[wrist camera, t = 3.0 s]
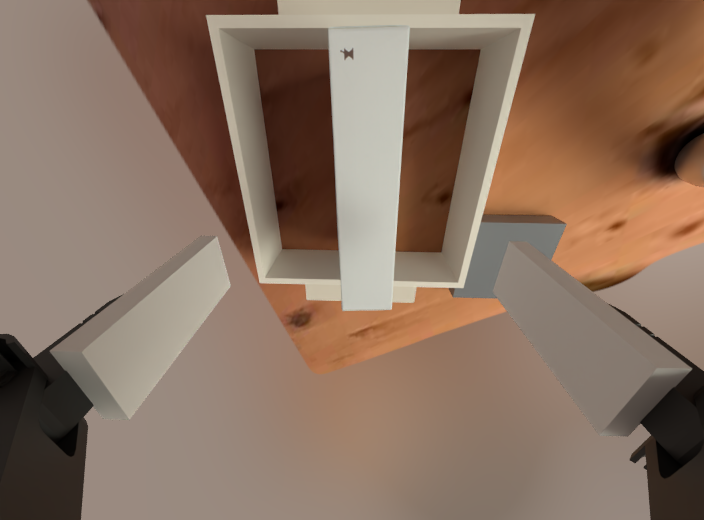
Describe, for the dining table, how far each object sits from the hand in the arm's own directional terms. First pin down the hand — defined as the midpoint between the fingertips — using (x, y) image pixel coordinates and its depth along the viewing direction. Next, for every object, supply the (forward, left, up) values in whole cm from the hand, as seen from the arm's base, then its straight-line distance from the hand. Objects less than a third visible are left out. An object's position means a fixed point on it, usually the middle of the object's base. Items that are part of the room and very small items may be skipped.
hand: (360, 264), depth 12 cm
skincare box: (0, 0, -25) cm, 25 cm away
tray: (0, 0, -25) cm, 25 cm away
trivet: (+12, +20, -25) cm, 34 cm away
